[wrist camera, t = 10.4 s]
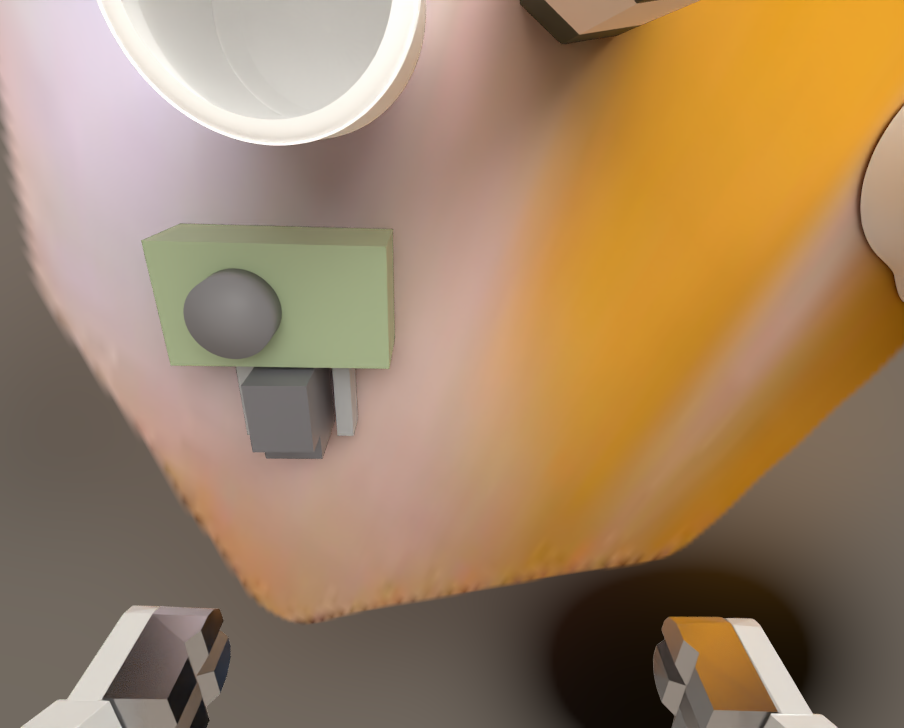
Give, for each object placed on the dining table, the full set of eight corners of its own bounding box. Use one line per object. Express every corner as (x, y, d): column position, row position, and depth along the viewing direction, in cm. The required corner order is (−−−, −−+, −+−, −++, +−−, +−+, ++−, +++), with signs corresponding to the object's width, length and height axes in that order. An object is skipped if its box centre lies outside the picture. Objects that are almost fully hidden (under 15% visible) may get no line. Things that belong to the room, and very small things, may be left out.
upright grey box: (327, 340, 38) (306, 386, 32) (334, 420, 41) (316, 476, 35) (273, 340, 38) (240, 385, 31) (284, 420, 41) (256, 476, 35)
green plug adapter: (392, 229, 34) (383, 255, 28) (396, 418, 41) (389, 473, 35) (180, 223, 34) (122, 248, 27) (218, 416, 40) (179, 472, 34)
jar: (406, -103, 27) (377, -320, 13) (444, 112, 31) (450, 113, 18) (213, -57, 27) (-2, -220, 14) (278, 148, 32) (163, 174, 18)
